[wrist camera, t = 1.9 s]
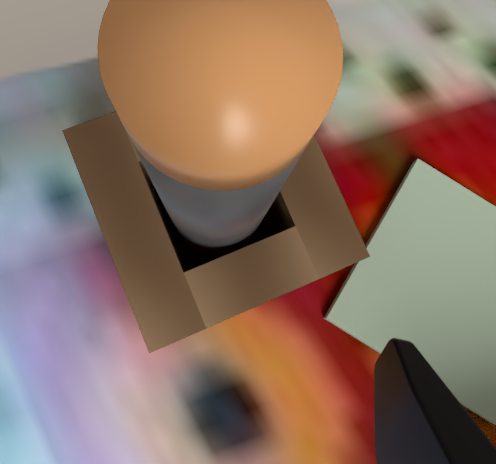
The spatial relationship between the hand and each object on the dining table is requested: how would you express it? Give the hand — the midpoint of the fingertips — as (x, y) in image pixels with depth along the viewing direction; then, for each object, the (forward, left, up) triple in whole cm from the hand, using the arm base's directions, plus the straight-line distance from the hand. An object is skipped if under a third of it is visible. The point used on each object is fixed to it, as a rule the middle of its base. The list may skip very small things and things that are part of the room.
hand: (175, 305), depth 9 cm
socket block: (+4, +2, -11) cm, 12 cm away
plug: (+4, +2, -11) cm, 12 cm away
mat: (+8, -9, -11) cm, 17 cm away
